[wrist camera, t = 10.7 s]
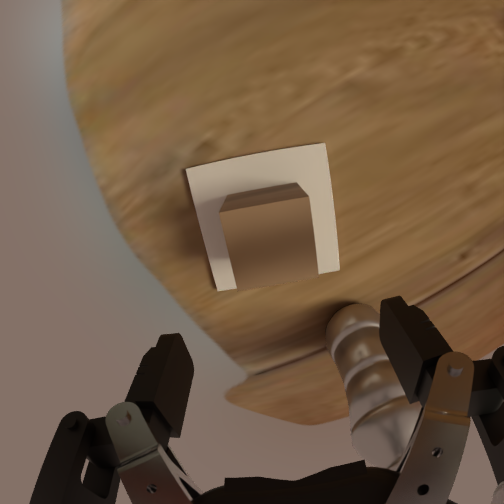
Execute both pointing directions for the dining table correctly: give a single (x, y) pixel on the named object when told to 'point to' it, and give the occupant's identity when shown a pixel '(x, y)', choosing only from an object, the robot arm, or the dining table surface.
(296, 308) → the dining table surface
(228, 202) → the cube
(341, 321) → the plastic bottle
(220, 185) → the plate
